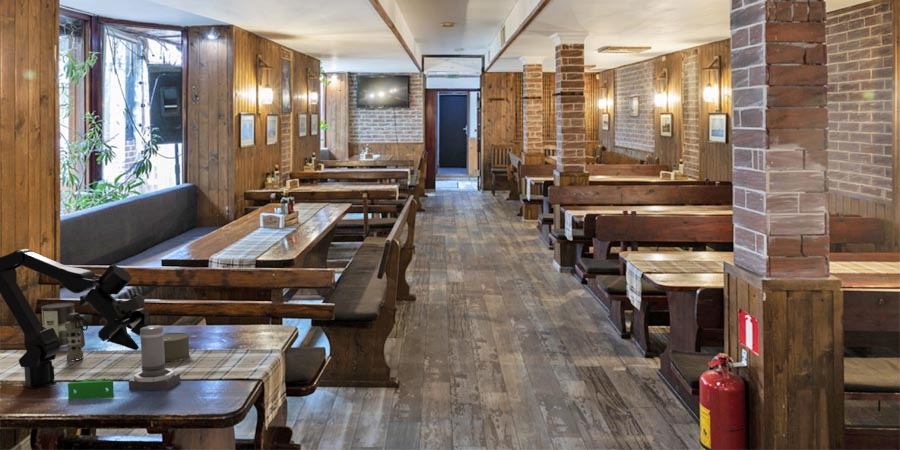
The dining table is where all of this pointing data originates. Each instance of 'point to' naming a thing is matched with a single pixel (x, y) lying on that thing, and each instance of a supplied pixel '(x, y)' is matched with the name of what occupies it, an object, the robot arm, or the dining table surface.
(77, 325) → the grenade model
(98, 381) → the pipe clamp
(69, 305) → the coffee can
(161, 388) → the octagonal tray on plate
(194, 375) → the dining table surface
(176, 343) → the can
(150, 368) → the lens
